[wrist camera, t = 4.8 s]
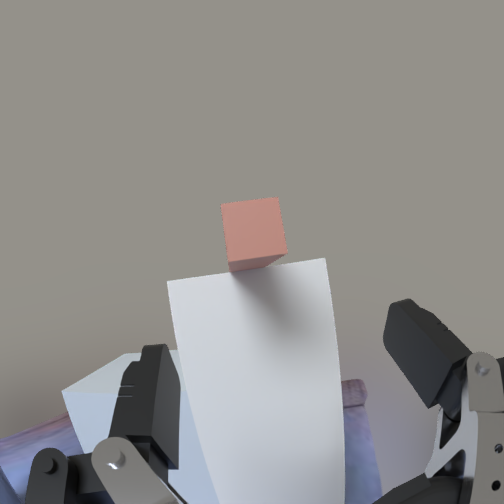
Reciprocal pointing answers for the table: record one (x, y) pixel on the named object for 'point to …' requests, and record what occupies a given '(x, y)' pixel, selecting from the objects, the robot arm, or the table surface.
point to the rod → (253, 233)
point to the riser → (245, 388)
